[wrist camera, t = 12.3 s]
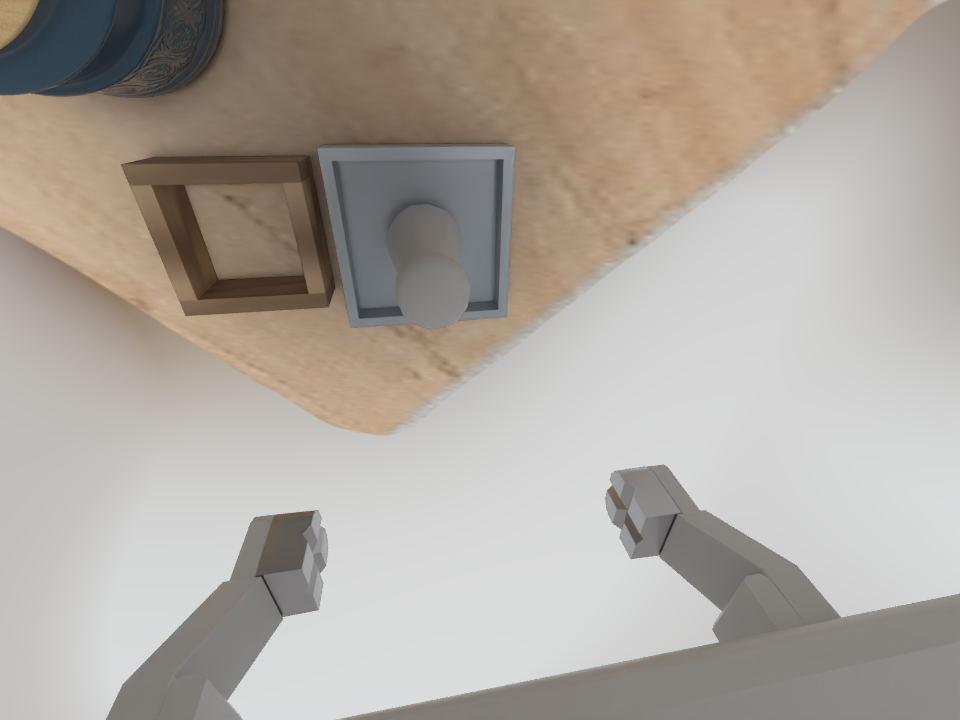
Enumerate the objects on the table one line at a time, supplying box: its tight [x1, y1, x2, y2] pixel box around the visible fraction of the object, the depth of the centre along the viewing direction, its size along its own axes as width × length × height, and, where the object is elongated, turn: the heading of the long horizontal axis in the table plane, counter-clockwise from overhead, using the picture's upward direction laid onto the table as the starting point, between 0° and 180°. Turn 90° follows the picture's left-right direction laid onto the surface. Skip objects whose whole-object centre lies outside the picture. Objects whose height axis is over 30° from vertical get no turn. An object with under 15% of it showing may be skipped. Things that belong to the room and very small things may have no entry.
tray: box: [317, 144, 515, 328], centre depth 33 cm, size 14×14×2 cm
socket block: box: [121, 156, 335, 316], centre depth 30 cm, size 10×10×4 cm
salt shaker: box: [387, 204, 470, 329], centre depth 28 cm, size 6×6×13 cm
